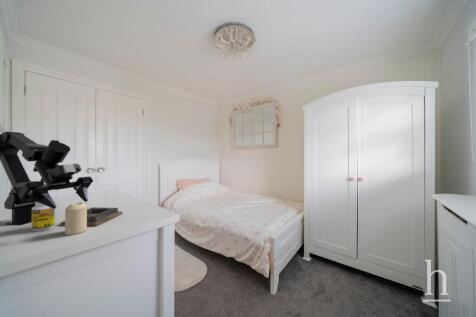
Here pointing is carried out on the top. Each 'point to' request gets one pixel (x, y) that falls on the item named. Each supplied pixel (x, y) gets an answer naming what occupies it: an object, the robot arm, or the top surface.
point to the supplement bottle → (42, 217)
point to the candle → (75, 219)
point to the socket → (99, 215)
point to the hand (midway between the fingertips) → (72, 204)
